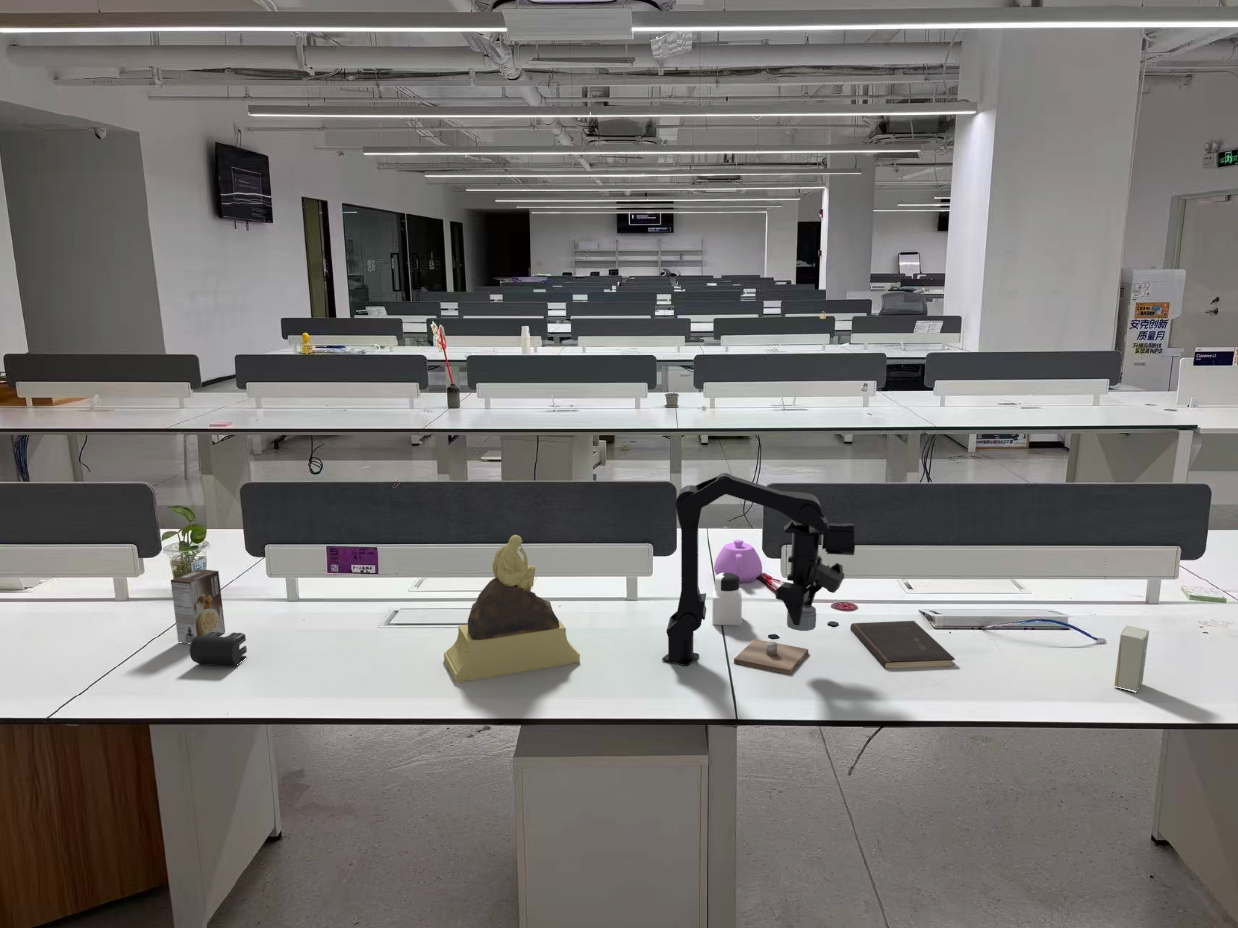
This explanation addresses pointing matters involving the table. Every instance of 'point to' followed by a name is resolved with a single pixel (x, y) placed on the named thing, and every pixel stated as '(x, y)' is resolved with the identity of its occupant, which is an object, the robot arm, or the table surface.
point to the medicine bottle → (727, 600)
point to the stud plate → (771, 656)
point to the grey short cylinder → (804, 619)
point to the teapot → (739, 561)
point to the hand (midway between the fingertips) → (801, 620)
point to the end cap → (218, 649)
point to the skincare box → (1131, 658)
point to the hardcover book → (901, 644)
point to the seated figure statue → (509, 625)
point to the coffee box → (197, 604)
